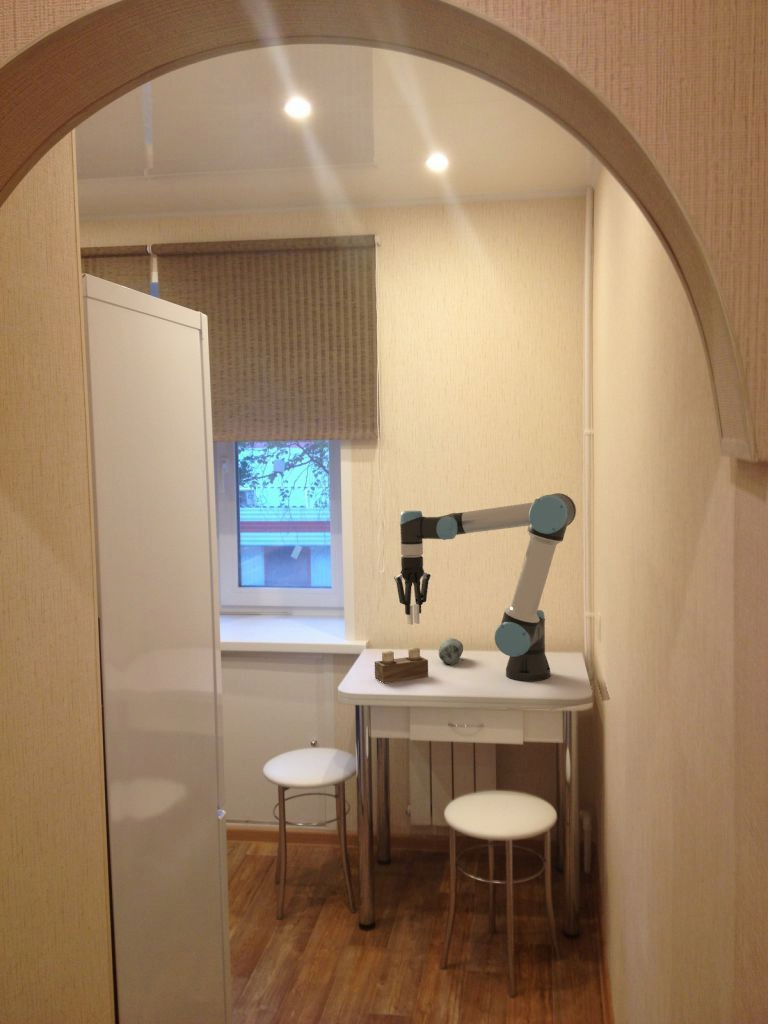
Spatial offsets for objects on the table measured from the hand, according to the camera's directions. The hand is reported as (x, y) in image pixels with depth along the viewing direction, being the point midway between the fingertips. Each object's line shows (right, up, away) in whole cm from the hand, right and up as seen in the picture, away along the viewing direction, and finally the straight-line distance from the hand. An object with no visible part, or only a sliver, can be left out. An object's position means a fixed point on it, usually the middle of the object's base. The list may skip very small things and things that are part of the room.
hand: (413, 623), depth 309 cm
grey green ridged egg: (+15, -17, +21) cm, 31 cm away
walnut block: (-4, -19, -1) cm, 19 cm away
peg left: (-9, -15, -3) cm, 18 cm away
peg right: (0, -15, +1) cm, 15 cm away
